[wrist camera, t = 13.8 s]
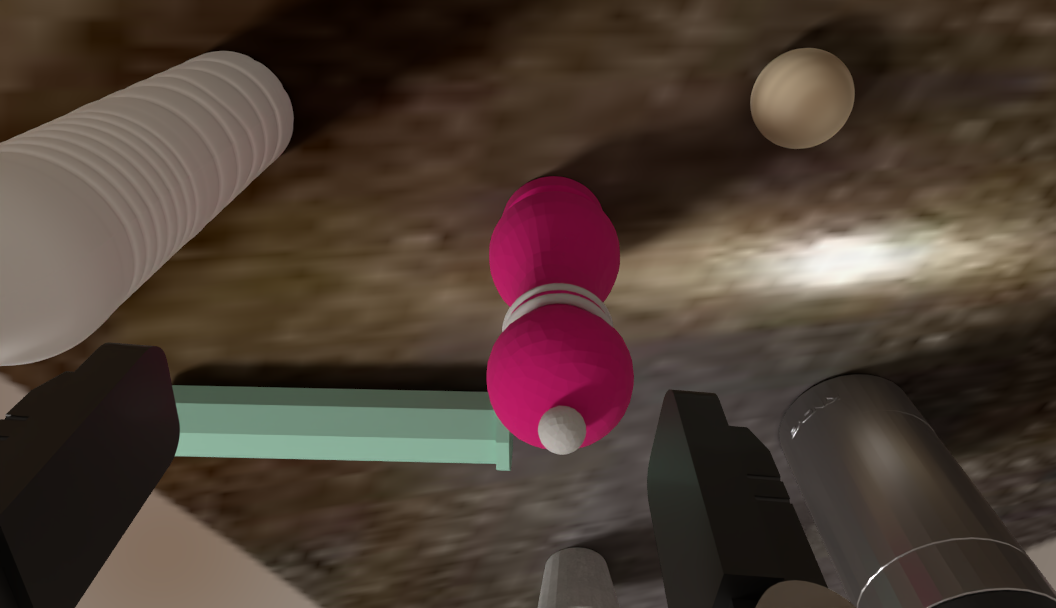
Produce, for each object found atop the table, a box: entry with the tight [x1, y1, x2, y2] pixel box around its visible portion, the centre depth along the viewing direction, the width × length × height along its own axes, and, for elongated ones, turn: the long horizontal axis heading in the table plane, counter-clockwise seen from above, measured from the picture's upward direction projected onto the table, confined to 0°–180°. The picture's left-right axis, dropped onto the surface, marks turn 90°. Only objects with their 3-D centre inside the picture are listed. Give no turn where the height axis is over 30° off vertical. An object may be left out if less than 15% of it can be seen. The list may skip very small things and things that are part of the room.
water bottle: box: [0, 51, 294, 366], centre depth 29 cm, size 9×6×25 cm
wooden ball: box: [750, 48, 855, 149], centre depth 36 cm, size 5×5×5 cm
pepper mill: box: [487, 176, 634, 455], centre depth 33 cm, size 7×7×20 cm
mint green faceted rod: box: [172, 385, 513, 471], centre depth 47 cm, size 6×6×25 cm
